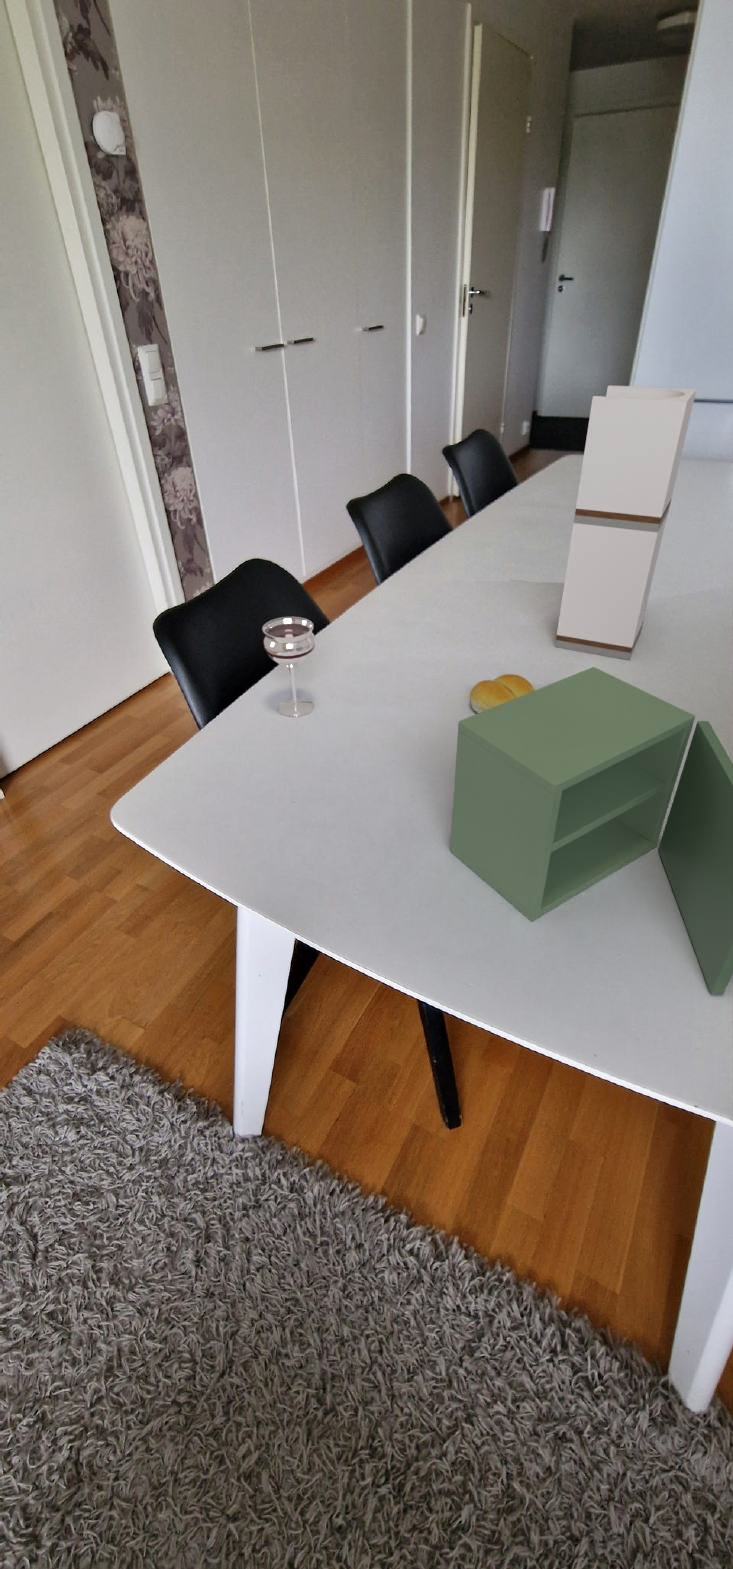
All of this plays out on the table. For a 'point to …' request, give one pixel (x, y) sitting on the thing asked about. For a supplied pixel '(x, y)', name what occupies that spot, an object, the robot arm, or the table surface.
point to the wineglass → (290, 654)
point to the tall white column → (621, 515)
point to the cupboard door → (704, 854)
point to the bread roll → (498, 691)
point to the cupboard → (564, 786)
